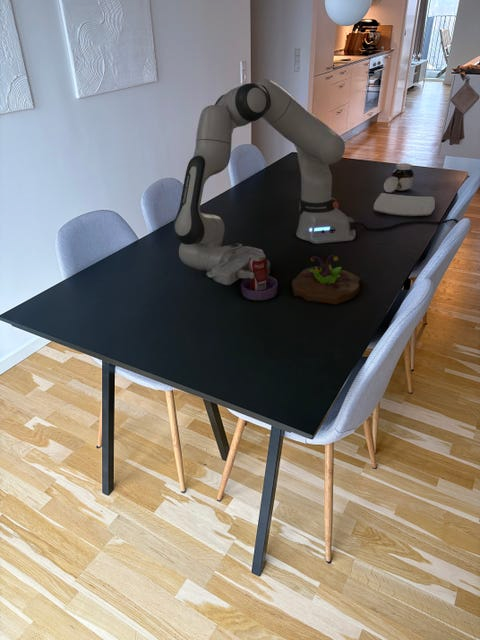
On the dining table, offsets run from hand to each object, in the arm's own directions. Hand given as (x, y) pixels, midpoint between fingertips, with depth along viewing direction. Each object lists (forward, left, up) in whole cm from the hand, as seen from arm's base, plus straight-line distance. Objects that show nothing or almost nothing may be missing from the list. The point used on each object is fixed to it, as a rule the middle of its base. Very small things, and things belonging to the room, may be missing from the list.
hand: (260, 270), depth 142 cm
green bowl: (+3, -14, -8) cm, 16 cm away
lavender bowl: (+1, 0, -8) cm, 8 cm away
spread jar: (-61, -100, -8) cm, 117 cm away
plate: (-58, -75, -8) cm, 95 cm away
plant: (-20, -3, -8) cm, 22 cm away
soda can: (+1, 0, -7) cm, 7 cm away
